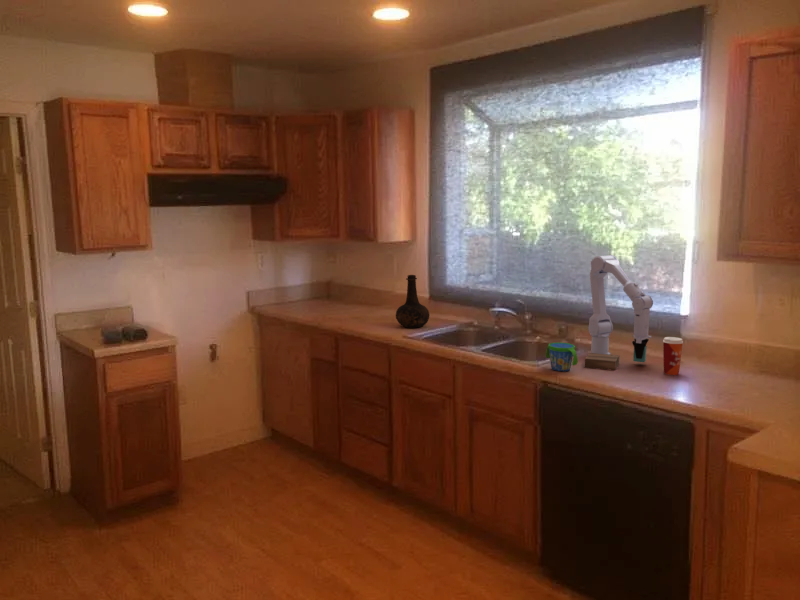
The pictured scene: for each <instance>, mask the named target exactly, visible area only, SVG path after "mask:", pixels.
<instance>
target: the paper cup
mask: <svg viewBox="0 0 800 600" xmlns="http://www.w3.org/2000/svg"><path fill="white" fill-rule="evenodd" d="M662 342H663V346H662V347H663V350H662V351H663V353H662V355H663V374H665V375H668V374H669V375H668V376H677V375H680V369H681V368H680V367H681V360H682V353H683V352H682V350H683V343H684V341H683V338H681V337H677V336H676V337H675V336H665V337H664V338H663V340H662Z"/></svg>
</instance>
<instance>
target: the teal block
mask: <svg viewBox="0 0 800 600" xmlns="http://www.w3.org/2000/svg"><path fill="white" fill-rule="evenodd" d="M647 347H648V345H646V346H645V348H644V352H643V356H642V359H637V358H636V354H635V348H634V347H633V357H632V360H633V362H634V363H635V362H637V363H646V361H647Z"/></svg>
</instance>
